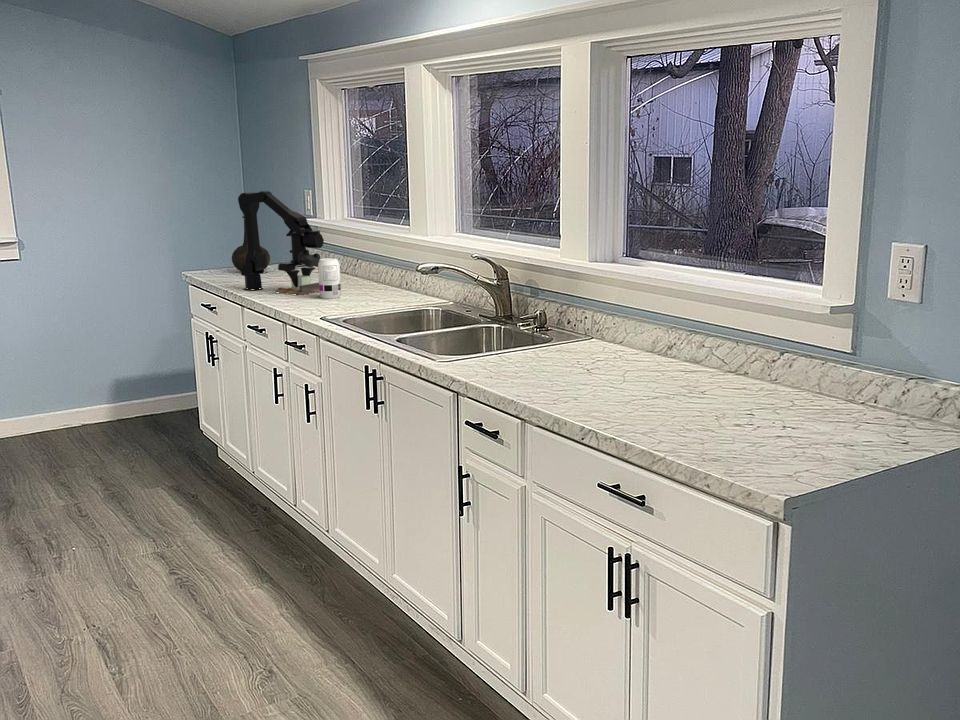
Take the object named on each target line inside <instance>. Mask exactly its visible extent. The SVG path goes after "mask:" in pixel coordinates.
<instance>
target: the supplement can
mask: <svg viewBox="0 0 960 720" xmlns="http://www.w3.org/2000/svg"><path fill="white" fill-rule="evenodd" d="M338 259H339V258H336V257H335V258H334V257H332V258H331V257H330V258H328V257H327V258H320V260H319V262H318V269H317V271H318V272H317V273H318V283H319V291H320V292H319V297H320V298H321V299H322V298H324V300H336V298H337V299H340V298H339V297H341V296H342V287H341V286H342V285H341V267H340V261H339V260H338Z"/></svg>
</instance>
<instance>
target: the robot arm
mask: <svg viewBox="0 0 960 720" xmlns="http://www.w3.org/2000/svg"><path fill="white" fill-rule="evenodd" d="M237 202H238V206H239V209H240V211H241V212H242V215H243V214H244V215H243V216H244V217H245V226H246V236H247V245H248V252H247V254H246V257H245V265H244V266H243V268H242V269H241V270H240V271H239V272H240V275H241V276H242V277H243V276H244V284H245V285H244V286H245V287H244V288H248V289H259V288H262V287H263V286H262V285H263V284H262V277H261V274H262V275H263V274H264V272H265V270H264V268H265V267H266V263H267V260H266V253H262V251H261V249H260V246H261V245H260V234H259V224H258V217H257V214H258V212H259V209H260V203H264V204H265V205H266V206H267V207H268V208H270V209H271V210H272V211H273V212H274V213H275V214H276V215H278V216H279V217H280V218H281V219H282V221H283V222H284V225H286V227H287V228H288V229H289V231H288V232H287V233H286V234H285V235H286V237H290V239H291V240H290V241H291V242H290V245H291V249H289V253H290V254H291V256H292V257H291V258H292V259H291V260H290V261H289V262H286V261H285V262H280V263H279V264H278V265H277V266H278V268H277V269H278V270H277V271H281V272H285V273H287V275H288V276H289V278H290V281H291V280H292V282H293V284H294V286H295V287H298V275H299V273H300V271H301V275H304V276H311V274H312V272H313V271H314V270H316V267H318V262H319V260H320V259H321V255H320V253H318V252H317V253H316V252H315V253H313V254H310V251H309V249H321V248H322V247H323V246H324V243H325V239H324V238H323V235H322V234H321V231H320V230H313V228H312V227H311V225H310V224H309V223H308V219H307V218H306V217H305V215H303V214H301V213H298V212H297V211H293V210H292V209H290V208H289V207H288V206H286V205H285V204H284V203H283V202H282V201H281V200H280V199H278V198H277V197H276V196H275V195H274V194H273V193H272V192H271V191H269V190H262V191H261V190H260V192H254V191H252V192H250V191H249V192H242V193H240V194H239V196H238V197H237ZM308 248H309V249H308ZM298 268H300V270H299V269H298ZM259 290H260V289H259Z"/></svg>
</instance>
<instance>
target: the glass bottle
mask: <svg viewBox="0 0 960 720" xmlns="http://www.w3.org/2000/svg"><path fill="white" fill-rule="evenodd" d="M242 215H243V216H242V217H241V218H242V219H243V243H242V245H240V246H237V248H236V249H234V251H233V252H232V254H231V262H232V264H233V266H234V268H236V270H238V271H239V270H241V269H242V268H243V266H244V265H245V257H246V254H247V252H248V245H247V236H246V226H245V217H244V214H243V213H242ZM260 249H261V251H262V253H266V260H267V263H266V267H265V268H264V269H265V270H266V269H267V268H268V266H269V264H270V262H271V256H270V252H269V251H268V250H267V249H266V248H265V247H263V246H261V245H260Z"/></svg>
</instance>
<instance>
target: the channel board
mask: <svg viewBox="0 0 960 720" xmlns="http://www.w3.org/2000/svg"><path fill="white" fill-rule="evenodd" d="M276 292H279V293H288V294H296V295H295V296H298V295H302V296H305V295H304V294H307V295H310V294H309V293H313V294H316V293H315V292H318V293H320V291H319V282H314V283H311V284H307V285H302V286H300V289H292V286H291V287H277V289H276V290H275V293H276ZM279 293H278V294H279ZM288 294H287V295H288Z"/></svg>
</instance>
